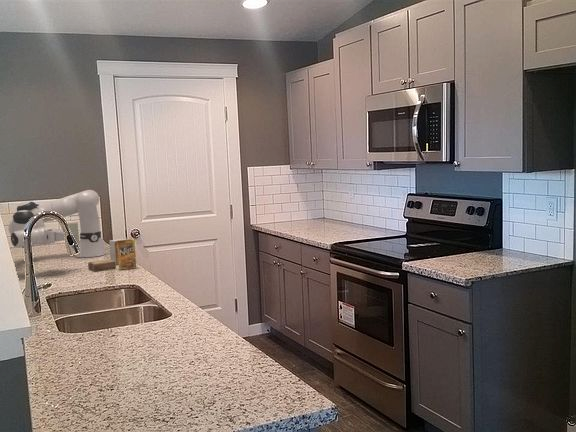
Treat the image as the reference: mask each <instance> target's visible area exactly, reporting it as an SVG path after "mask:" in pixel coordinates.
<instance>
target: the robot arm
mask: <svg viewBox="0 0 576 432" xmlns="http://www.w3.org/2000/svg"><path fill="white" fill-rule="evenodd" d="M99 201H100V196H99V193H97V192H96V191H95V190H93V189H86V190H83V191H80V192H78V193H73V194H71V195H67V196H64V197H62V198H59V199H55V200H52V201H49V202H46V203H44V204H42V205H40V204H39V203H38V204H37V203H36V202H33V201H23V202H21V203H20V204H19V205H18V206H17V207H16V212H15V213H14V214H12V220H11V221H10V222H9V224H8V233H9V234H10V242H11V244H12V246H13V247H15V248H23V249H25V248H24V241H23V233H24V227H25V225H26V223H27V222H28V221H29V219H30V218H31V217H33V216H34V215H35V214H37V213H39V212H42V211H55V212H57V213H59V214H60V215H62V216H63V218H66V217H69V216H73V215H76V214H78V217H79V227H80V230H79V231H80V232H79V244H80V245H79V247H80V253H79V254H77V255H74V256H75V257H76V258H94V257H100V256H103V255H106V254H109V251H107V250H106V244H105V240H104V239H103V238H102V231H101V225H100V216H99V213H98V208H97V207H98V206H97V205H98V204H99ZM53 221H55V220H54V219H51V218H44V219H41V220H39V221H38V222H37V223H36V225H35V226H34V227H33V229H32V234H31V242H32V247H31V248H33V247H34V246H44V245H45V246H46V245H52V244H55V243H56V242H62V241H66V240H65V239H64V234H63V231H62V230H63V229H61V228H51V227H50V226H46V225H45V223H46V222H53ZM72 234H73V235H76V231H72Z"/></svg>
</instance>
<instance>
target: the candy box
mask: <svg viewBox="0 0 576 432" xmlns="http://www.w3.org/2000/svg"><path fill="white" fill-rule="evenodd" d="M121 239H122V240H117V250H118V263H119V264H118V270H119V271H120V270H130V269H137V256H136V243H135V238H121Z"/></svg>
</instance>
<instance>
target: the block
mask: <svg viewBox="0 0 576 432" xmlns="http://www.w3.org/2000/svg"><path fill="white" fill-rule="evenodd" d="M67 223H68V226H69V228H70V230H71V232H72V231H76V235H73V236H74V238H75V240H76V241H77V243H78V245H80V244H79V241H80V231H79V222H78V221H75V220H74V221H73V220H72V221H67Z"/></svg>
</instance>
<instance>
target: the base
mask: <svg viewBox="0 0 576 432" xmlns="http://www.w3.org/2000/svg"><path fill="white" fill-rule="evenodd" d="M116 267H117V266H116V264H115V262H114V261H112V260H111V259H109V258H105V259H99V260H91V261H89V262H88V263H87V268H88V270H89V271H92V272H95V273H97V272H103V271H108V270H116V269H117V268H116Z"/></svg>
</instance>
